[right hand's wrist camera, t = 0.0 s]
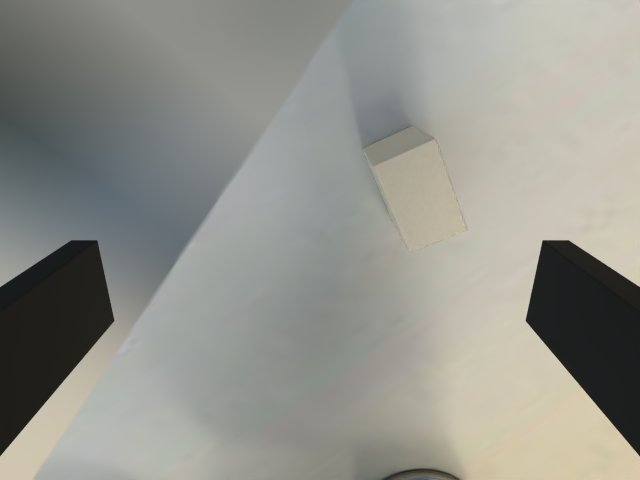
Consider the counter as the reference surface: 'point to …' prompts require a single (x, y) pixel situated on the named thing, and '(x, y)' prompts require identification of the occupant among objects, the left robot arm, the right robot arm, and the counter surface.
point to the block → (415, 187)
